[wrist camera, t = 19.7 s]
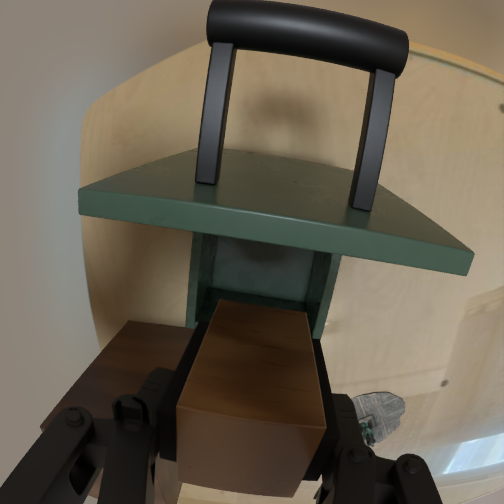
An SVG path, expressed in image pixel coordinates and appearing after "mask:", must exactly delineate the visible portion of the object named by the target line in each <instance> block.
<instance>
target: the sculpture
mask: <svg viewBox="0 0 504 504" xmlns="http://www.w3.org/2000/svg"><path fill="white" fill-rule="evenodd" d="M351 400H352V401H353V402H354V406H355V409H356V413H357V417H358V420H359V424H360V428H361V431H362V435H363V439H364V443H365V444H366V445H367V446H372V447H373V446H374V445H373V444H375V443H378V442H380V441H382V440H384V439H385V438H387V437H388V436H389V435H390V434H391V433H393V432H394V431H395V430H396V429H397V428H398V427H399V425H400V416H401V415H402V414H403V413H404V412H405V405H404V402H403V399H401V398H399V397H397V396H395V395H392V394H390V393H388V392H385V393H378V392H377V393H372V394H368V395H361V396H357V397H355V398H353V399H351Z"/></svg>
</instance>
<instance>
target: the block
mask: <svg viewBox="0 0 504 504" xmlns="http://www.w3.org/2000/svg"><path fill="white" fill-rule="evenodd" d="M326 428H327V427H326V420H325V414H324V408H323V402H322V396H321V390H320V384H319V379H318V373H317V367H316V362H315V356H314V351H313V345H312V340H311V335H310V329H309V324H308V319H307V314H306V312H299V311H292V310H286V309H279V308H272V307H266V306H259V305H253V304H247V303H241V302H235V301H229V300H223V299H220V300H219V302H218V305H217V307H216V309H215V312H214V314H213V317H212V319H211V322H210V324H209V326H208V329H207V331H206V334H205V336H204V339H203V341H202V344H201V346H200V349H199V351H198V353H197V356H196V358H195V361H194V363H193V366H192V368H191V371H190V373H189V376H188V378H187V381H186V383H185V386H184V388H183V390H182V393H181V395H180V398H179V400H178V403H177V405H176V454H177V481H179V482H183V483H188V484H192V485H197V486H202V487H207V488H213V489H218V490H224V491H231V492H238V493H245V494H254V495H263V496H275V497H290V498H292V497H293V496H294V494H295V492H296V490H297V489H298V487H299V485H300V483H301V481H302V479H303V477H304V475H305V473H306V471H307V469H308V467H309V465H310V463H311V461H312V459H313V457H314V455H315V452H316V450H317V448H318V446H319V444H320V442H321V439H322V437H323V435H324V433H325V431H326Z"/></svg>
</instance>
